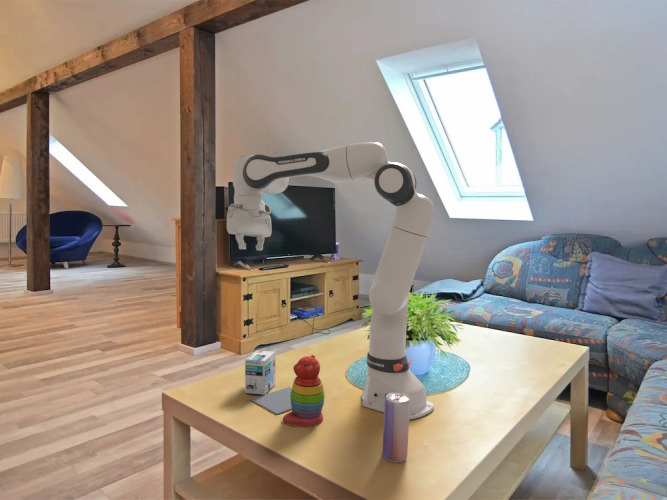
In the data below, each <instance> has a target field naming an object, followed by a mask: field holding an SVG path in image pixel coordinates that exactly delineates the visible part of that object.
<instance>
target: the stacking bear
mask: <svg viewBox="0 0 667 500" xmlns="http://www.w3.org/2000/svg"><path fill="white" fill-rule="evenodd" d="M292 370H293V372H294V374H295V378H294V380H293V382H292V386H291V388H292V390H291V394H290V397H291V398H290V400H291V407H292V410H291V411H289V412H288V413H286V414H285V415H283V417H282V423H284V424H286V425H289V426H294V427H300V428H301V427H304V428H306V427H315V426H318V425H319V424H321V423H322V422H323V421H324V416H323V413H322V411H323V407H324V403H325V390H324V384H323V382H322V380H321V378H320V377H319V374H320V372H321V364H320V362H319V360H318V359H316V356H315V355H314V354H311V355H310V356H303V357H300V359H299V360H298V361H297V362H296V363H295V364H294V365H293V368H292Z"/></svg>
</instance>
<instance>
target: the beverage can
mask: <svg viewBox="0 0 667 500" xmlns="http://www.w3.org/2000/svg"><path fill="white" fill-rule="evenodd" d="M409 400H410V399H409V397H408V396H407V395H405V394H402V393H389V394H387V395H386V399H385V406H384V412H383V427H382V428H383V429H382V445H381V446H382V447H381V449H382V451H381V455H382V457H383V458H384V459H385V460H386V461H387V462H389V461H390V463H392V462H394V464H400V463H403V462H405V461H406V460H407V458H408V447H409V446H408V445H409V428H410V427H409V426H410V419H409V414H410V401H409ZM399 462H400V463H399Z"/></svg>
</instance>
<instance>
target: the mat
mask: <svg viewBox="0 0 667 500" xmlns="http://www.w3.org/2000/svg"><path fill="white" fill-rule="evenodd" d="M291 390H292V386H291V387H290V386H287V387H284V388H281V389H278V390H275V391H271V392H267V393H266V394H265V395H262V394H261V395H258V396H255V397H252V398H250V401H251V402H253V403H254V404H256V405H257V406H260V407H262V408H264V409H266V410H267V411H268V412H271V413H272V414H274V415H276V416H278V415H281V414H285V413H287V412H291V411H292V407H291V400H290V398H291V397H290V394H291Z"/></svg>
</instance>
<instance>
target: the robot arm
mask: <svg viewBox="0 0 667 500" xmlns="http://www.w3.org/2000/svg"><path fill="white" fill-rule="evenodd" d="M302 176H303V177H304V176H306V177H307V176H308V177H314V178H318V179H322V180H325V181H328V182H330V183H342V184H344V183H351V182H357V181H361V180H363V181H364V180H372V181H373V183H374V188H375V191H376V192H377V194H378V195H379V196H380V197H382V198H383V199H384V200H385V201H387V202H389V203H390V204H391V205H393V206H394V207H395V214H394V218H393V221H392V224H391V228H390V231H389V233H388V236H387V240H386V243H385V246H384V249H383V252H382V255H381V257H380V260H379V262H378V266H377V268H376V271H375V274H374V276H373V278H372V279H373V280H372V283H371V284H370V285H371V286H370V288H369V292H368V299H369V303H370V305H371V308H372V309H371V310H372V311H371V317H370V325H369V339H368V341H369V342H368V352H367V355H366V365H367V370H366V371H367V372H366V375H365V376H366V377H365V382H364V386H363V390H362V393H361V396H360V397H361V399H362V406H363V407H365V408H368V409H371V410H373V411H374V410H375V411H376V412H377V411H378V412H381V413H384V406H385V399H386V395H387V394H389V393H402V394H405V395H407V396H408V397H409V399H410V400H409V401H410V414H409V420H414V419H415V420H416V419H418V418H422V417H424V416H427V415H429V414H430V413H432V412H433V411H434V408H435V405H434V403H433V402H431V401H429V400H428V399H427V391H426V390H427V389H426V387H425V385H424V384H423V383H422V382H421V381H420V380H419V378H418V377H417V376H416V375H415V374H414V373H413V372H412V371H411V369H410V365H412V364H413V363H412V362H413V360H408V359H407V358H408V357H407V354H406V341H407V325H408V315H409V314H408V313H409V303H410V302H409V300H410V291H411V288H412V285H413V281H414V279H415V276H416V274H417V271H418V268H419V264H420V261H421V259H422V255H423V252H424V250H425V245H426V243H427V240H428V237H429V234H430V231H431V227H432V222H433V217H434V210H435V205H434V203H433V201H432V200H431V199H430V198H429V197H427V196H426V195H423V194H422V193H421V194H420V193H419V192H418V191H417V190H416V188H417V179H416V176H415V174H414V173H413V171H412V170H411V168H409V167H408V166H407V165H404V164H402V163H400V162H396V161H395V162H393V161H390V159H389V155H388V152H387V149H386V147H384V145H383V144H382V143H380V142H373V141H370V142H368V141H367V142H365V141H364V142H357V143H350V144H345V145H341V146H335V147H331V148H327V149H322V150H318V151H316V150H315V151H313V152H307V153H306V152H305V153H304V152H303V153H297V154H289V155H284V156H283V155H282V156H275V157H274V156H268V155H264V154H254V155H253V154H245V155H241V156H239V157H237V159H235V160H234V162H233V165H232V187H233V188H234V195H233V203H231V204H230V205H229V206H227V207H228V209H227V214H226V231H227V233H228V234H230V235H235V240H236V242H237V244H238V249H239V250H247V243H246V242H245V241H244V237H245V236H247V237H254V238H255V237H256V241H257V244H255V250H256V251H263V249H264V243H265V238H269V237H271V236H272V232H273V231H272V229H273V227H272V218H271V216H270V214H271V213H272V209H271V207H270V206H269V205H268V204H267V203H266V202H264V200H263V195H264V194H269V195H271V194H272V195H277V194H282V193H283V192H285V191H286V190H287V189H288V187H289V185H290V178H295V177H302ZM426 414H427V415H426Z"/></svg>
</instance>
